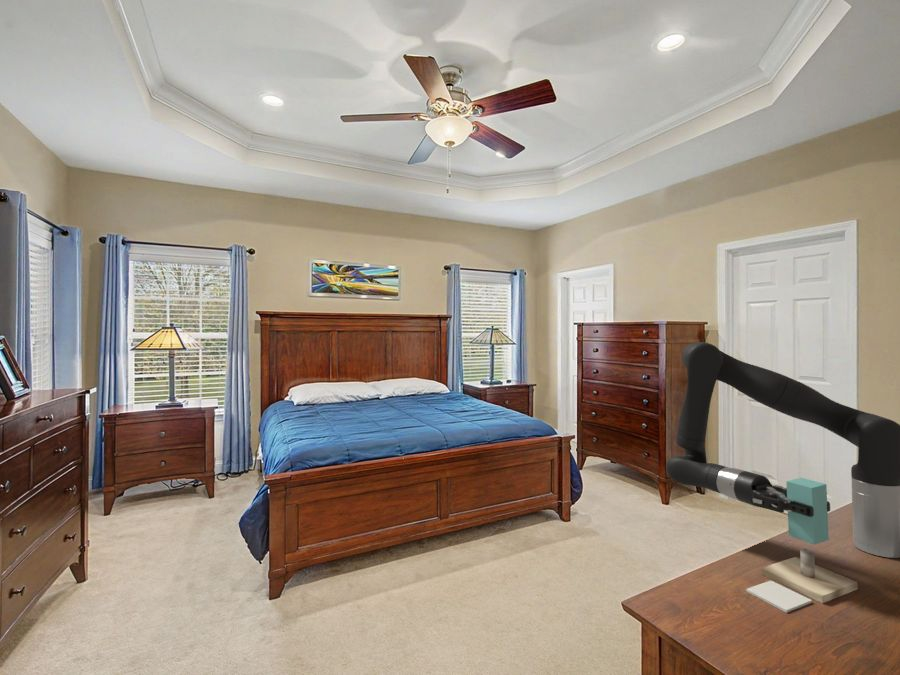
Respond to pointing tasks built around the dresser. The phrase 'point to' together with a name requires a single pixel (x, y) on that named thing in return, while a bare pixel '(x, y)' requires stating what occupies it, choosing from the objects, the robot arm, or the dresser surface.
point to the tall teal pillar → (811, 495)
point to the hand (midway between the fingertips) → (820, 509)
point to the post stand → (809, 578)
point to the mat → (779, 596)
